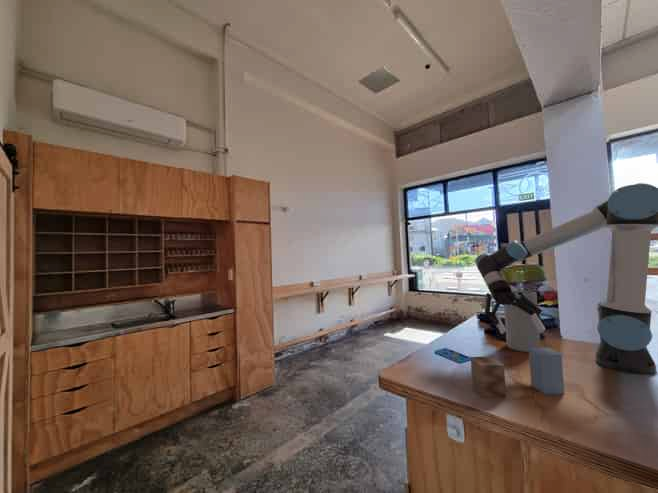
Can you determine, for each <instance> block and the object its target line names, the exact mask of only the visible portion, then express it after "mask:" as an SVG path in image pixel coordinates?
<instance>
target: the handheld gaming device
mask: <svg viewBox="0 0 658 493" xmlns="http://www.w3.org/2000/svg"><path fill="white" fill-rule="evenodd" d="M434 353H435V354H436V355H439V356H441V357H442V358H445V359H448V360H450V361H453V362H455V363H457V364H464V363H467V362H471V357H472V356H469V355H466V354H463V353H461V352H459V351H458V352H457V351H456V350H453V349H450V348H447V347H444V348H439V349H436V350H435V351H434Z"/></svg>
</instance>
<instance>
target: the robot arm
mask: <svg viewBox="0 0 658 493" xmlns="http://www.w3.org/2000/svg"><path fill="white" fill-rule="evenodd" d="M605 228H606V229H607V228H608V229H610V230H611V232H612V233H611V242H610V243H611V244H610V255H609V256H610V257H609V266H608V267H609V268H608V269H609V271H608V279H607V280H608V283H607V293H606V300H604V301H602V302H599V303H598V304H597V309H596V310H597V315H598V324H597V332H598V334H599V337H600V338H599V339H600V341H599V345H598V347H597V349H596V352H595V355H594V356H595V361H596V363H597V364H599V365H601V366H603V367H606V368H609V369H612V370H616V371H618V372H619V371H620V372H625V373H631V374H640V375H650V374H651V375H653V374H655V373H656V372H657V365H656V363H655V360H654V359H653V357H652V355H651V353H650V351H649V350H648V347H647V346H649V344H650V342H651V341H652V340H653V339H652V338H653V333H652V331H651V322H652V320H651V319H652V310H651V309H650V308H649V307H647V306H646V297H647V296H646V295H647V294H646V293H647V282H648V272H649V271H648V270H649V260H650V248H651V238H652V231H654V229H656V228H658V188H657V187H656V186H654V185H652V184H648V183H644V182H643V183H641V182H636V183H635V182H634V183H630V184H626V185H623V186H620V187H618V188H617V189H615V190H614V191H613V192H612V193H611V194H610V195H609V198H607V200H606V201H605V202H603V203H600V204H598V205H596V206H594V208H593V209H592V210H591V211H589V212H587V213H585V214H582V215H580V216H577V217H576V218H573V219H571V220H569V221H566V222H564V223H562V224H560V225H557V226H554V227H552V228H551V229H550V228H549V229H547V230H545V231H542V232H541V233H539V234H537V235H534V236H532V237H530V238H527V239H525V240H523V241H518V240H513V241H511V242H510V243H507V244H506V245H505V246H502V247H501V248H500V249H498V250H497V251H496V252H493V253H492V254H491V253H487V252H485V253H483V254H479V255H477V257H476V258H475V260H474V261H475V262H474V263H475V265H476V268H477V270H478V271H479V273H480V275H481V277H482V278H483V281H484V283H485V284H486V287H487V289H488V291H489V292H486V294H485V296H484V299H485V305H484V306H485V307H484V314H483V315H484V316H485V317H488V318H489V319H490V320H492V321H493V324H494V325H495V326H497V328H498V331H499V332H500V334H501V335H502V334H503V335H504V334H505V333H506V328H505V324H504V323H503V321H502V319H501V317H500V315H499V314H497V312H498V310H499V307H500V305H501V306H504V305H511V304H512V305H513V306H517V307H518V308H520V309H522V310H523V311H525V312H526V313H528V314H530V315H531V319H532V320H533V322H534V324H535V325H536V327H537V329H538V331H539V334H542V333H543V332H545V330H546V327H545V325H544V324H543V319H542V318H541V316H540V314H541V313H542V311H543V310H542V309H541V308H540V307H539V306H538V305H537V306H536V305H535V304H534V303H532V302H531V301H530V300H529V299H527V298H526V297H525V296H524V295H523V294H522V293H521V292H519V293H518V294H514V293H513V292H512V291H513V290H512V287H511V286H510V284H509V282H508V280H507V278H506V277H505V275H504V274H503V272H502V270H504V269H506V268H507V267H509V266H511V265H512V264H515V263H519V262H522V261H525V260H527V259H530V258H532V257H534V256H536V255H539V254H542V253H544V252H547V251H550V250H552V249H554V248H556V247H559V246H563V245H565V244H568V243H570V242H571V241H575V240H577V239H580V238H583V237H585V236H587V235H589V234H593V233H595V232H597V231H600V230H603V229H605ZM492 299H493V300H494V301H496V302H495V305H494V307H493V309H492V311H491V305H492ZM514 300H515V301H516V302H515V303H514Z"/></svg>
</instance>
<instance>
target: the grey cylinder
mask: <svg viewBox="0 0 658 493" xmlns="http://www.w3.org/2000/svg"><path fill="white" fill-rule="evenodd" d="M512 292H513V293H514V294H518V293H519V292H521V293H522V294H523V295H524V296H525V297H526V298H527V299H529V300H530V301H531V302H532V303H534V304H535V305H536V306H537V307H538V297H537V295H538V293H537V292H534V291H531V290H529V291H528V290H512ZM515 302H516V301H515V300H514V303H515ZM503 312H504V313H503V314H504V327H505V329H506V331H505V339H506V340H505V341H506V346H507V347H508V348H509V349H511V350H514V351H519V352H524V353H529V348H542V347H541V339H540V338H541V336H540V334H541V333H540V332H539V331H538V329H537V327H536V325H535V324H534V322H533V320H532V319H531V315H530V314H528V313H526V312H525V311H523V310H522V309H520V308H518V307H517V306H513V305H512V304H511V305H503Z"/></svg>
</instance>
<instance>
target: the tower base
mask: <svg viewBox="0 0 658 493" xmlns="http://www.w3.org/2000/svg"><path fill="white" fill-rule="evenodd" d="M471 382H472V383H471V384H472V388H473V389H474V390H475V391H476V392H477V393H478V395H479V396H480V397H481V399H482V398H483V399H486V398H487V399H490V398H491V399H499V398H502V399H504V398H505V399H507V388H506V381H505V382H481V381H480V380H479V379H478V378H477V377H476V376H475V375H474V374H473V373H472V372H471Z"/></svg>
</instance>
